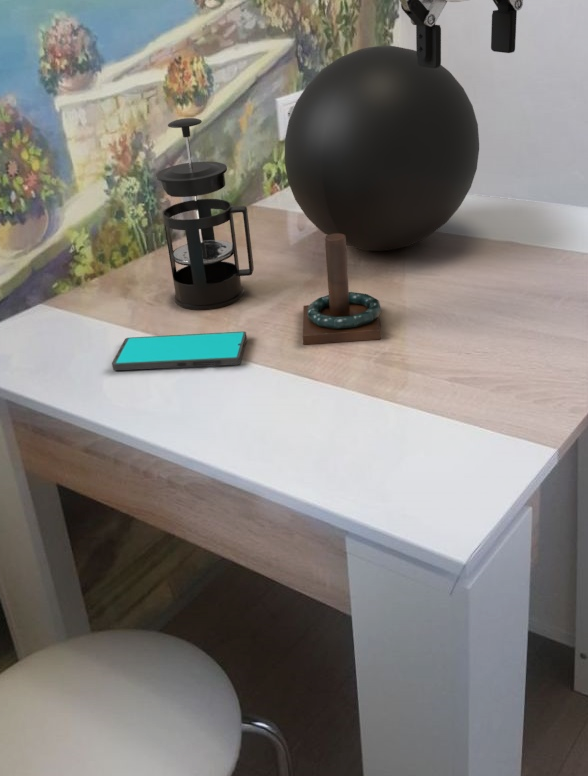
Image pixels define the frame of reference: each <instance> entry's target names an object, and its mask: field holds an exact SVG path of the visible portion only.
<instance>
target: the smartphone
mask: <svg viewBox="0 0 588 776" xmlns="http://www.w3.org/2000/svg"><path fill="white" fill-rule="evenodd" d="M247 338H248V337H247V332H246V331H229V332H228V331H227V332H209V333H208V332H207V333H195V334H194V333H192V334H174V335H173V334H172V335H151V336H132V337H131V336H130V337H126V338H124V340H123V342H122V344H121V345H120V347H119V349H118V351H117V353H116V355H115V357H114V358H113V360H112V362H111V367H112V370H113V371H126V370H127V371H128V370H129V371H130V370H150V369H169V368H171V369H172V368H191V367H211V366H212V367H213V366H214V367H215V366H234V365H239V364H241V361H242V359H243V354H244V350H245V347H246V342H247Z"/></svg>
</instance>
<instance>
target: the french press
mask: <svg viewBox="0 0 588 776" xmlns="http://www.w3.org/2000/svg"><path fill="white" fill-rule="evenodd" d="M202 122H203V120H202V119H200V118H196V117H186V118H179V119H176V120H175V119H174V120H172V121H171V122H169V123H168V124H167V127H169V128H171V129H172V128H173V129H181V134H182V137H183V138H185V143H186V144H185V145H186V151H187V159H188V162H185V163H181V164H175V165H171V166H169V167H165V168H163V169H161V170H160V171H158V172H157V173H156V177H155V178H156V180H157V181H159V182H160V183H161V186H162V188H163V191H164V192H165V193H166V195H168V196H169V197H174V198H189V197H190V198H191V197H193V199H192V200H186V201H182V202H179V203H175V204H172V205H170V206H168V207H167V208H165V209H164V210H163V211H162V218H163V225H164V226H163V227H164V231H165V238H166V245H167V250H168V256H169V263H170V269H171V275H172V280H173V281H172V282H173V288H174V293H175V294H174V301H175V304H176V305H177V306H179V307H181V308H183V309H187V310H193V311H194V310H195V311H204V310H213V309H219V308H223V307H226V306H230V305H231V304H234V303H236V302H237V301H239V300H240V299H241V298H243V295H244V292H245V291H244V287H243V285H242V281H241V277H246V276H248V277H250V276H252V275H253V272H254V268H255V267H254V257H253V249H252V240H251V239H252V238H251V232H250V231H251V230H250V223H249V214H248V213H249V211H248V208H247V206H245V205H240V206H239V205H238V206H232V203H231V202H230V201H227V200H226V199H220V198H200V199H198V196H199V197H200V196H203V195H208V194H211V193H215V192H218V191H220V190H222V189H223V188H225V186H226V177H225V174H226V172H227V171H228V166H227V165H226V164H225V163H223V162H218V161H192V154H191V153H192V152H191V146H190V141H189V137H191V130H190V127H195V126H197V125H200V124H202ZM212 210H221V211H223V212H219V213H218V214H214V215H212ZM192 211H195V215H196V218H193V219H178V218H172V217H174V216H177V215H180V214H183V213H186V212H192ZM237 213H241V214H242V217H243V225H244V226H243V227H244V235H245V244H246V252H247V262H248V267H249V268H245V269H244V268H242V269H240V264H239V257H238V247H237V237H236V231H235V223H234V215H233V214H237ZM227 222H229V226H230V227H229V228H230V236H231V242H229V241H227V240H219V239H216V238H215V230H214V227H218V226H220V225H223V224H225V223H227ZM171 230H175V231H184V232H185V237H186V243H187V244H186V243H185V244H183V245H181V246H178V247H177V248H175V249H174V248H173V241H172V234H171ZM232 256H233V261H234V263H233V262H228V261H225V260H227V259H230V258H231V257H232ZM176 264H178V265H181V266H184V267H182V268H180V269H178V270H177V265H176Z"/></svg>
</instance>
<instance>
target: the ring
mask: <svg viewBox="0 0 588 776" xmlns="http://www.w3.org/2000/svg"><path fill="white" fill-rule="evenodd" d="M350 303H351V304H358V305H364V306H366V307H367V308H369V309H368V310H367V311H365V312H363V313H360V314H357V315H354V316H344V317H333V316H327V315H323V314H321V313H320V311H321V310H322V309H323V308H326V307H329V294H327V295H324V296H321V297H320V296H319V297H318V298H317V299H315V300H314V301H312V302H311V303H310V304H308V305H309V306H308V309H307V311H308V319H309V320H310V321H312V322H313V323H315V324H316V325H318V326H320V327H326V328H332V329H345V328H355V327H359V326H362V325H365V324H368V323H371V322H372V321H373V320H374V319H375V318H377V317H378V318H379V316H380V315H381V313H382V308H381V302H380V300H379V299H377V298H375V297H374V296H372V295H369V294H368V293H361V292H354V291H349V304H350Z"/></svg>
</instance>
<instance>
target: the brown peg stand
mask: <svg viewBox="0 0 588 776" xmlns="http://www.w3.org/2000/svg"><path fill="white" fill-rule="evenodd" d="M324 246H325V247H324V248H325V261H326V275H327V291H328V292H327V293H328V295H329V307H326V308H323V309H322V310H321V311H320V313H321V314H323V315H327V316H333V317H344V316H354V315H357V314H360V313H363V312H365V311H367V310H368V309H369V308H367V307H366V306H364V305H358V304H351V303H350V304H349V292H350V289H349V271H348V270H349V269H348V255H347V254H348V253H347V245H346V236H345V235H344V234H339V233H336V234H330V235H327V234H326V235H325V236H324ZM309 305H310V304H306V305H303V306H302V307H303V309H302V345H316V344H317V345H319V344H331V343H345V342H346V343H347V342H356V341H357V342H359V341H372V340H373V341H375V340H376V341H377V340H381V327H380V321H379V316H378V317H377V318H375V319H374V320H373V321H372V322H371V323H368V324H365V325H362V326H359V327H355V328H345V329H332V328H326V327H320V326H318V325H316V324H315V323H313V322H312V321H310V320H309V319H308V311H307V309H308V306H309Z"/></svg>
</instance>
